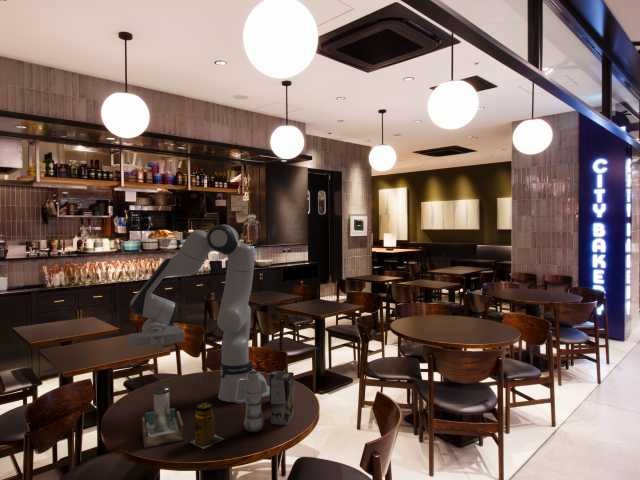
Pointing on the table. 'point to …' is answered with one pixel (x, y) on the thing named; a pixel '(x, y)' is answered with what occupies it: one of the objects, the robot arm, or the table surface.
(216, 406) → the table surface
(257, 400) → the plastic bottle
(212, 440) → the condiment
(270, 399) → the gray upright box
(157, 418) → the canister
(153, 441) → the housing
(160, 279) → the robot arm
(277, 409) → the coffee box
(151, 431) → the tray
